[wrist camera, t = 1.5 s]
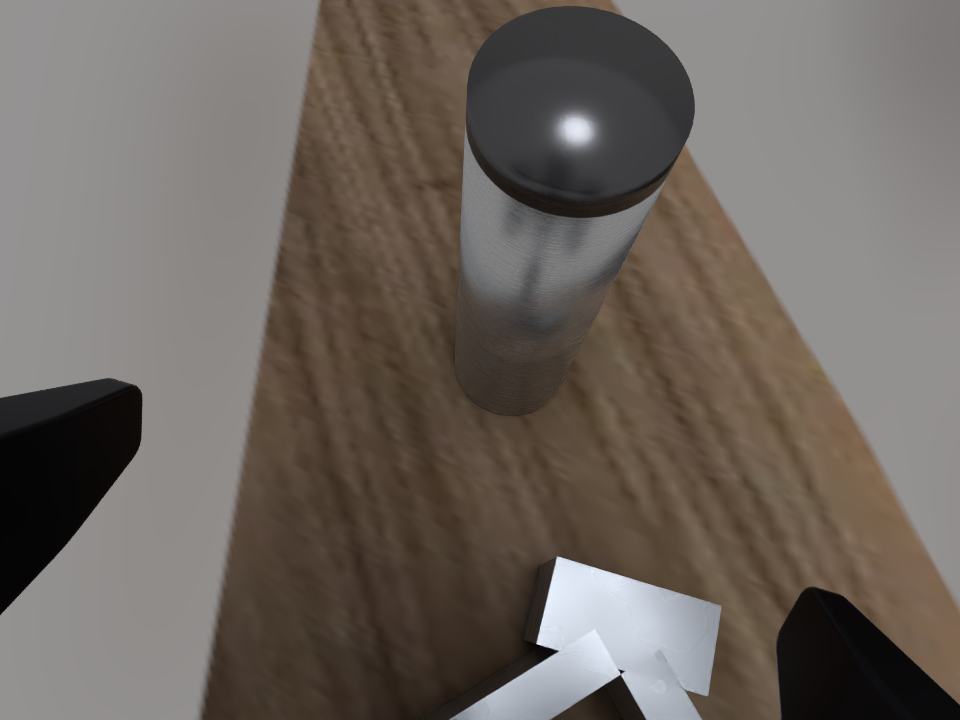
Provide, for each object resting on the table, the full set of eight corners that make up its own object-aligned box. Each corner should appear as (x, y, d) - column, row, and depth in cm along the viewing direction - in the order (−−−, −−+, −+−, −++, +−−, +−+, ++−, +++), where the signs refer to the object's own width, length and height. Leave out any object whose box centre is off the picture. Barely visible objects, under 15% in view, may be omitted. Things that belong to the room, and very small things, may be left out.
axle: (459, 419, 23) (477, 196, 11) (450, 315, 24) (458, 8, 12) (571, 411, 23) (715, 185, 11) (557, 308, 24) (672, 3, 12)
